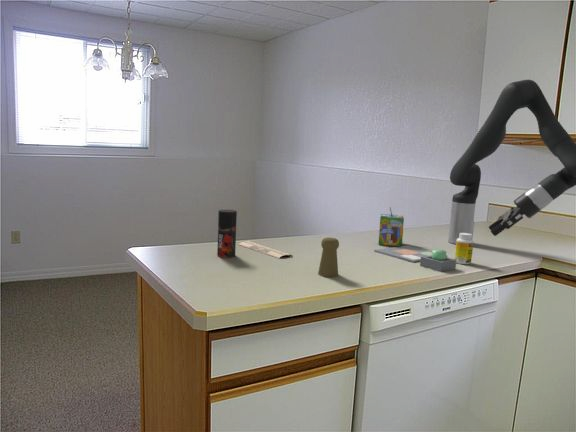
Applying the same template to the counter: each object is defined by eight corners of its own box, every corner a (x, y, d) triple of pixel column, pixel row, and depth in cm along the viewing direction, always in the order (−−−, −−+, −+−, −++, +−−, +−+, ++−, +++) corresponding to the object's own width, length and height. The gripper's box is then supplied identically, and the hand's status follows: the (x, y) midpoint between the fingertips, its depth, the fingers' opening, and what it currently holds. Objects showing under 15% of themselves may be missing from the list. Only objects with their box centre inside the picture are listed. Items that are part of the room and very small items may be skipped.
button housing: (434, 263, 161) (435, 254, 160) (455, 268, 154) (456, 259, 154) (420, 265, 156) (420, 257, 156) (440, 271, 150) (441, 262, 149)
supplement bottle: (468, 265, 160) (471, 236, 158) (452, 262, 163) (455, 233, 161) (473, 262, 164) (476, 234, 163) (456, 260, 167) (459, 231, 166)
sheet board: (407, 246, 186) (407, 245, 185) (447, 256, 171) (447, 255, 171) (374, 251, 174) (374, 249, 174) (413, 262, 160) (413, 260, 160)
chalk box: (401, 247, 184) (405, 209, 182) (378, 245, 186) (381, 208, 184) (401, 242, 193) (404, 207, 191) (378, 240, 195) (381, 205, 193)
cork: (316, 271, 143) (318, 235, 141) (336, 271, 143) (338, 236, 142) (319, 276, 137) (321, 239, 135) (340, 277, 137) (342, 240, 136)
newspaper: (292, 258, 160) (292, 253, 160) (276, 261, 156) (276, 256, 155) (251, 245, 178) (251, 240, 178) (236, 247, 173) (236, 242, 173)
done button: (436, 260, 158) (437, 249, 157) (447, 263, 155) (449, 251, 154) (428, 262, 155) (429, 250, 155) (439, 265, 152) (440, 253, 151)
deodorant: (238, 254, 159) (239, 210, 156) (230, 258, 153) (231, 212, 151) (222, 252, 160) (223, 209, 158) (214, 256, 155) (215, 211, 153)
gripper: (522, 190, 161) (482, 220, 166) (528, 193, 148) (485, 226, 153) (537, 207, 160) (496, 236, 166) (545, 212, 147) (501, 244, 152)
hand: (491, 231), depth 159 cm, fingers open, 8 cm apart
